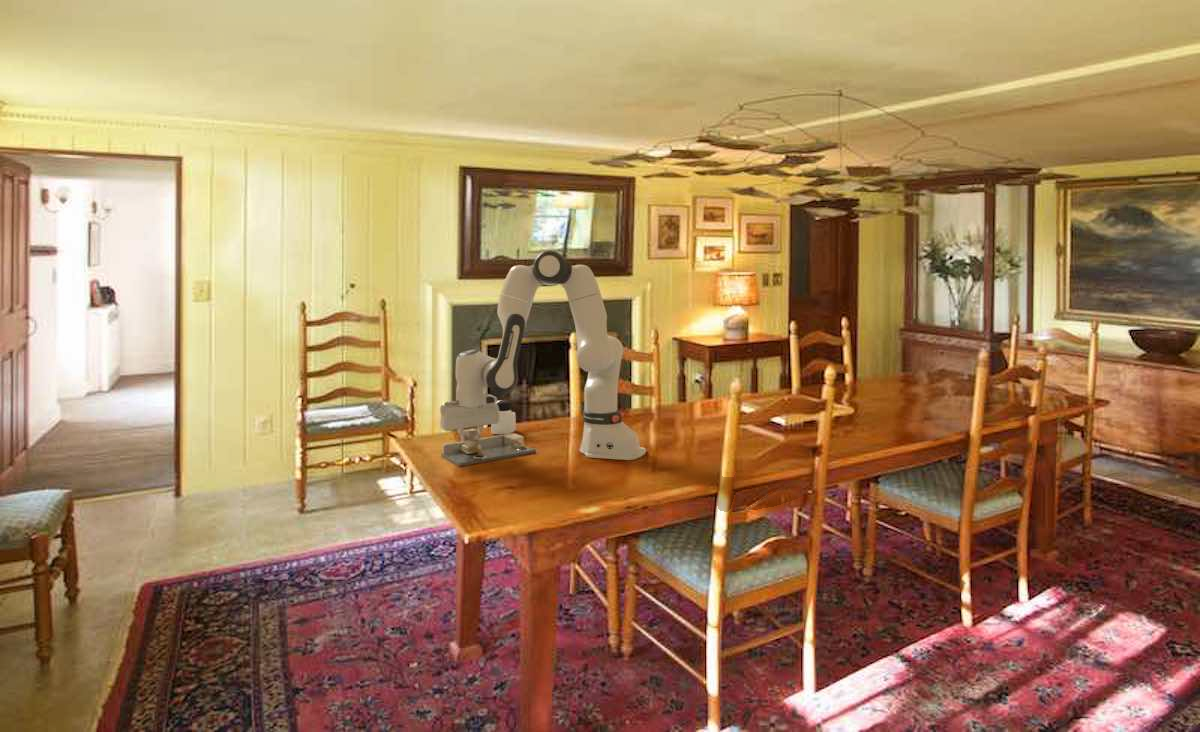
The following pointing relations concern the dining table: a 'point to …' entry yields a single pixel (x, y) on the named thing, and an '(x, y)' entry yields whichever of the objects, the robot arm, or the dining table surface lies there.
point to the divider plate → (487, 449)
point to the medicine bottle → (504, 419)
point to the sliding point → (471, 442)
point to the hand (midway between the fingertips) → (470, 439)
